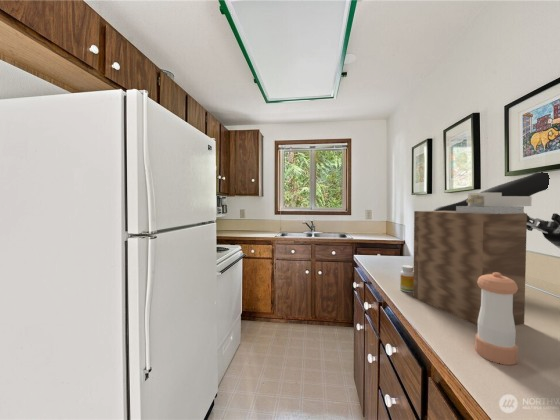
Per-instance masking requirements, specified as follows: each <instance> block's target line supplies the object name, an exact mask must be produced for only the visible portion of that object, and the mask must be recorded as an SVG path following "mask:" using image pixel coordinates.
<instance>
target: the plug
mask: <svg viewBox="0 0 560 420" xmlns="http://www.w3.org/2000/svg"><path fill="white" fill-rule="evenodd" d="M532 196H533V195H531V196H502V193H489V192H486V193H480V192H468V195H467V197H468V199H467V198H466V199H467V200H466V202H468V206H524V207H532V202H533V201H532V199H533V197H532Z"/></svg>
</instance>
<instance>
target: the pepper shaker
mask: <svg viewBox="0 0 560 420" xmlns="http://www.w3.org/2000/svg"><path fill="white" fill-rule="evenodd" d="M477 283H478V286H479V287H480V288H482V289H481V308H480V312H479V317H478V326H477V332H476V333H475V343H474V344H475V345H474V348H475V352H476V353H477V354H478V355H479V356H481V357H482V358H484V359H486V360H487V361H491V362H492V361H493V363H496V364H499V363H500V364H501V365H505V366H513V365H514V366H515V365H516V364H517V363H518V344H516V335H517V334H516V332H517V331H516V326H515V324H514V318H513V294H515V293H516V292H517V290H518V287H517V284H516V283H515V281H513V280H512V279H510V278H508V277H505V276H502V275H501V274H500V273H498V272H494V273H493V274H487V275H482V276H480V277H479V278H478V281H477Z"/></svg>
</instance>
